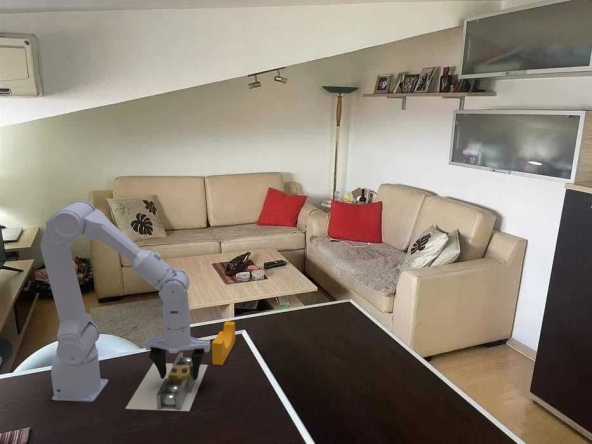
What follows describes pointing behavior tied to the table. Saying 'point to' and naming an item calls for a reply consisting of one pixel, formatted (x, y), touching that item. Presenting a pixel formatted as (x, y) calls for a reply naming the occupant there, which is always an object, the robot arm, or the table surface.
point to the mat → (152, 384)
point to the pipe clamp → (223, 343)
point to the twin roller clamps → (176, 387)
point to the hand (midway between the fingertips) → (179, 376)
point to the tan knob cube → (179, 375)
